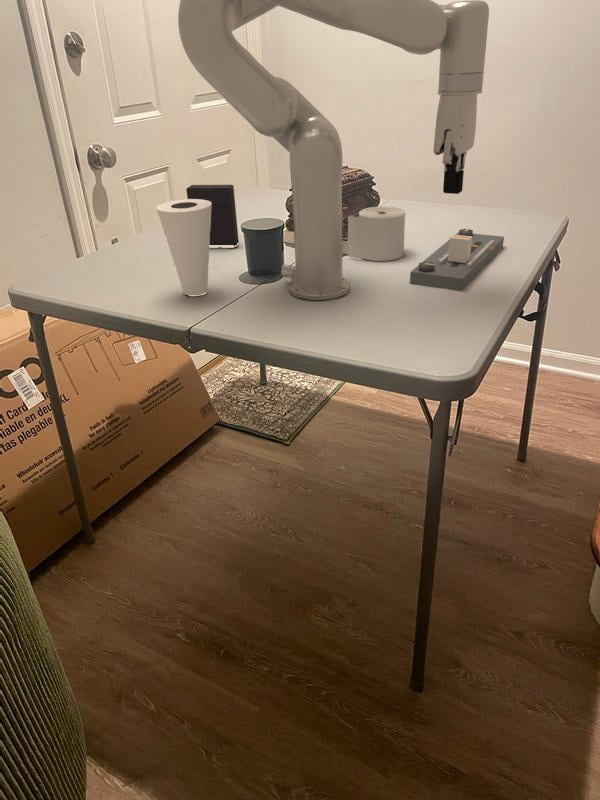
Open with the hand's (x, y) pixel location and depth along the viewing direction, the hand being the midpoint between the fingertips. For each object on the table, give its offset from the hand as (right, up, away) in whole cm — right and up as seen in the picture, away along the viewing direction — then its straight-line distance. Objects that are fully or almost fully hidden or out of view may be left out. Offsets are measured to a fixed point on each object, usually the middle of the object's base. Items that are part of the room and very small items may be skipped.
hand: (452, 192), depth 118 cm
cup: (-51, -17, +12) cm, 55 cm away
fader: (+5, -10, +15) cm, 18 cm away
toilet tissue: (-10, -5, +29) cm, 31 cm away
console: (+7, -9, +21) cm, 24 cm away
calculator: (-50, 0, +41) cm, 65 cm away
